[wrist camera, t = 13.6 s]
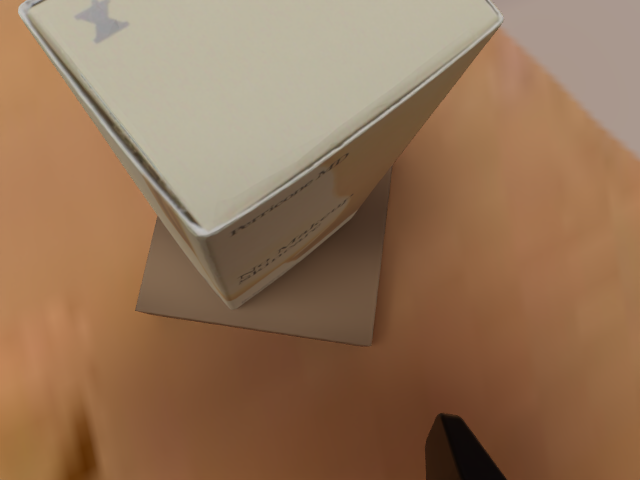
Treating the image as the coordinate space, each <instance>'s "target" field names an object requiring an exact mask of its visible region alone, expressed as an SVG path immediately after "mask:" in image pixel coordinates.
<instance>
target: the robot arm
mask: <svg viewBox="0 0 640 480" xmlns="http://www.w3.org/2000/svg"><path fill="white" fill-rule="evenodd" d="M425 460H426V480H507V479H506V478H505V476H504V475H503V474H502V472H501V471H500V469H499V468H498V467H497V465H496V464H495V463H494V461H493V460H492V459H491V457H490V456H489V454H488V453H487V452H486V450H485V449H484V448H483V446H482V445H481V444H480V442H479V441H478V439H477V438H476V437H475V435H474V434H473V433H472V431H471V430H470V429H469V427H468V426H467V425H466V423H465V422H464V420H463V419H462V418H461V417H459V416H457V415H451V414H445V413H440V414H438V415H437V417H436V419H435V421H434V423H433V426H432V428H431V430H430V432H429V435H428V437H427V440H426V445H425Z"/></svg>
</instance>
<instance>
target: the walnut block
mask: <svg viewBox="0 0 640 480" xmlns="http://www.w3.org/2000/svg"><path fill="white" fill-rule="evenodd" d="M391 174H392V166H391V167H390V169H389V170H388V171H387V172H386V174H385V175H384V176H383V178H382V179H381V180H380V181H379V183H378V184H377V185H376V186H375V188H374V189H373V190H372V192H371V193H370V194H369V196H368V197H367V199H366V200H365V201H364V202H363V204H362V205H361V206H360V208H359V209H358V210H357V212H356V213H355V214H354V216H353V217H352V218H351V219H350V220H349V221H348V222H347V223H345V224H344V225H343V226H342V227H341V228H339V229H338V230H337V231H336V232H335V233H334V234H332V235H331V236H330V237H329V238H328V239H326V240H325V241H324V242H323V243H322V244H320V245H319V246H318V247H317V248H316V249H314V250H313V251H312V252H311V253H310V254H309V255H307V256H306V257H305V258H304V259H303V260H301V261H300V262H299V263H297V264H296V265H295V266H293V267H292V268H291V269H290V270H288V271H287V272H286V273H284V274H283V275H282V276H281V277H279V278H278V279H277V280H275V281H274V282H273V283H271V284H270V285H269V286H267V287H266V288H265V289H263V290H262V291H261V292H259V293H258V294H256V295H255V296H254V297H252V298H251V299H249V300H248V301H247V302H245V303H244V304H242V305H241V306H240V307H238V308H237V309H234V310H231V309H230V308H229V307H228V306H227V305H226V304H225V303H224V302H223V300H222V299H221V298H220V297H219V296H218V295H217V294H216V292H215V291H214V290H213V289H212V288H211V286H210V285H209V284H208V283H207V281H206V280H205V279H204V277H203V276H202V275H201V274H200V272H199V271H198V270H197V269H196V267H195V266H194V265H193V263H192V262H191V261H190V260H189V258H188V257H187V255H186V254H185V253H184V251H183V250H182V249H181V247H180V246H179V245H178V243H177V242H176V240H175V239H174V238H173V236H172V235H171V233H170V232H169V231H168V229H167V228H166V227H165V225H164V224H163V222H162V221H161V220H160V218H159V217H158V216H157V220H156V225H155V229H154V233H153V237H152V242H151V246H150V250H149V254H148V259H147V263H146V267H145V271H144V276H143V280H142V284H141V288H140V293H139V297H138V301H137V305H136V310H135V311H139V312H143V313H147V314H151V315H156V316H163V317H170V318H176V319H183V320H190V321H196V322H203V323H209V324H216V325H223V326H229V327H236V328H243V329H249V330H256V331H262V332H269V333H276V334H282V335H289V336H296V337H302V338H309V339H315V340H322V341H329V342H335V343H342V344H349V345H355V346H371V344H372V336H373V327H374V319H375V310H376V302H377V293H378V285H379V276H380V268H381V259H382V251H383V242H384V234H385V225H386V216H387V208H388V199H389V191H390V182H391Z"/></svg>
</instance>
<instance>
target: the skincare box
mask: <svg viewBox="0 0 640 480" xmlns="http://www.w3.org/2000/svg"><path fill="white" fill-rule="evenodd" d="M18 13H19V15H20V17H21V19H22V20H23V22H24V23H25V25H26V27H27V28H28V29H29V31H30V32H31V34H32V35H33V36H34V38H35V39H36V41H37V42H38V43H39V45H40V46H41V48H42V49H43V51H44V52H45V53H46V55H47V56H48V58H49V59H50V60H51V62H52V63H53V65H54V66H55V67H56V69H57V70H58V72H59V73H60V75H61V76H62V78H63V79H64V80H65V82H66V83H67V85H68V86H69V88H70V89H71V91H72V92H73V93H74V95H75V96H76V98H77V99H78V101H79V102H80V104H81V105H82V106H83V108H84V109H85V111H86V112H87V114H88V115H89V116H90V118H91V119H92V121H93V122H94V124H95V125H96V127H97V128H98V129H99V131H100V132H101V134H102V135H103V137H104V138H105V140H106V141H107V143H108V144H109V146H110V147H111V149H112V150H113V152H114V153H115V155H116V156H117V157H118V159H119V160H120V162H121V163H122V165H123V166H124V168H125V169H126V171H127V172H128V174H129V175H130V176H131V178H132V179H133V181H134V182H135V184H136V185H137V186H138V188H139V189H140V191H141V192H142V194H143V195H144V197H145V198H146V199H147V201H148V202H149V204H150V205H151V207H152V208H153V209H154V211H155V212H156V214H157V215H158V217H159V218H160V220H161V221H162V222H163V224H164V225H165V227H166V228H167V229H168V231H169V232H170V233H171V235H172V236H173V238H174V239H175V240H176V242H177V243H178V245H179V246H180V247H181V249H182V250H183V251H184V253H185V254H186V255H187V257H188V258H189V260H190V261H191V262H192V263H193V265H194V266H195V267H196V269H197V270H198V271H199V272H200V274H201V275H202V276H203V277H204V279H205V280H206V281H207V283H208V284H209V285H210V286H211V288H212V289H213V290H214V291H215V292H216V294H217V295H218V296H219V297H220V298H221V299H222V300H223V302H224V303H225V304H226V305H227V306H228V307H229V308H230V309H231V310H234V309H237V308H238V307H240V306H241V305H242V304H244V303H245V302H247V301H248V300H249V299H251V298H252V297H254V296H255V295H256V294H258V293H259V292H261V291H262V290H263V289H265V288H266V287H267V286H269V285H270V284H271V283H273V282H274V281H275V280H277V279H278V278H279V277H281V276H282V275H283V274H284V273H286V272H287V271H288V270H290V269H291V268H292V267H293V266H295V265H296V264H297V263H299V262H300V261H301V260H303V259H304V258H305V257H306V256H307V255H309V254H310V253H311V252H312V251H313V250H314V249H316V248H317V247H318V246H319V245H320V244H322V243H323V242H324V241H325V240H326V239H328V238H329V237H330V236H331V235H332V234H334V233H335V232H336V231H337V230H338V229H339V228H341V227H342V226H343V225H344V224H345V223H347V222H348V221H349V220H350V219H351V218H352V217H353V216H354V214H355V213H356V212H357V210H358V209H359V208H360V206H361V205H362V204H363V202H364V201H365V200H366V199H367V197H368V196H369V194H370V193H371V192H372V190H373V189H374V188H375V186H376V185H377V184H378V183H379V181H380V180H381V179H382V178H383V176H384V175H385V174H386V172H387V171H388V170H389V169H390V167H391V166H392V165H393V163H394V162H395V161H396V159H397V158H398V157H399V155H400V154H401V153H402V152H403V151H404V149H405V148H406V147H407V145H408V144H409V143H410V141H411V140H412V139H413V138H414V136H415V135H416V134H417V132H418V131H419V130H420V129H421V127H422V126H423V125H424V123H425V122H426V121H427V120H428V118H429V117H430V116H431V114H432V113H433V112H434V111H435V109H436V108H437V107H438V105H439V104H440V103H441V102H442V100H443V99H444V98H445V97H446V95H447V94H448V93H449V91H450V90H451V89H452V87H453V86H454V85H455V84H456V82H457V81H458V80H459V78H460V77H461V76H462V75H463V73H464V72H465V71H466V69H467V68H468V67H469V65H470V64H471V63H472V61H473V60H474V59H475V58H476V56H477V55H478V54H479V52H480V51H481V50H482V49H483V47H484V46H485V45H486V44H487V42H488V41H489V40H490V39H491V37H492V36H493V35H494V34H495V32H496V31H497V30H498V28H499V27H500V26H501V24H502V23H503V14H502V13H501V12H500V11H499V9H498V8H497V6H496V5H495V4H494V3H493V2H492V1H491V0H27V1H25V2H24V3H22V4H21V5H20V6H19V10H18Z"/></svg>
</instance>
